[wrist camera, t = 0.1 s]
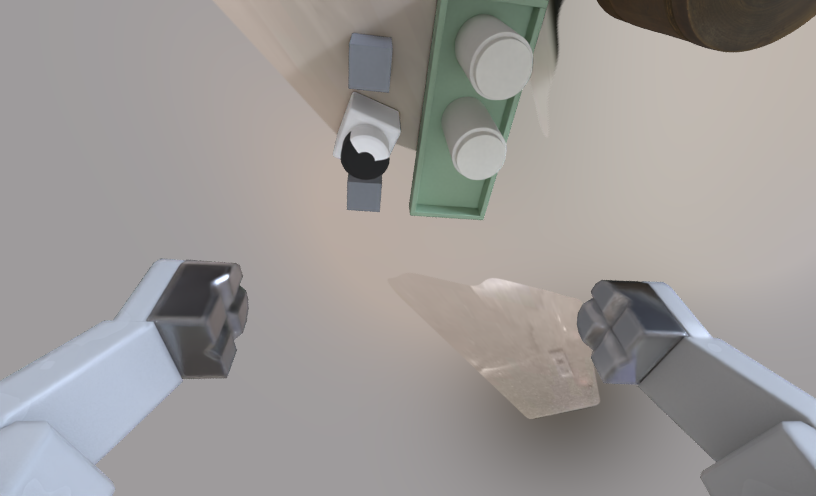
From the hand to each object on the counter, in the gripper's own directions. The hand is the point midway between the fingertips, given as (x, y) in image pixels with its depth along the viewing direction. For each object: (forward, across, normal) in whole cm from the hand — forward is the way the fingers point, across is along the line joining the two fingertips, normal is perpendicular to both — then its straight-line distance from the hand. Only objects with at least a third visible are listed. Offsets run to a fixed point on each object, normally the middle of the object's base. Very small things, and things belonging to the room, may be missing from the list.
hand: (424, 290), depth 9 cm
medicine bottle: (+48, +2, +15) cm, 51 cm away
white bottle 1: (+47, -12, +3) cm, 49 cm away
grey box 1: (+48, +2, +6) cm, 48 cm away
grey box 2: (+48, +2, +24) cm, 54 cm away
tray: (+48, -12, +13) cm, 51 cm away
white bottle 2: (+47, -12, +13) cm, 51 cm away
